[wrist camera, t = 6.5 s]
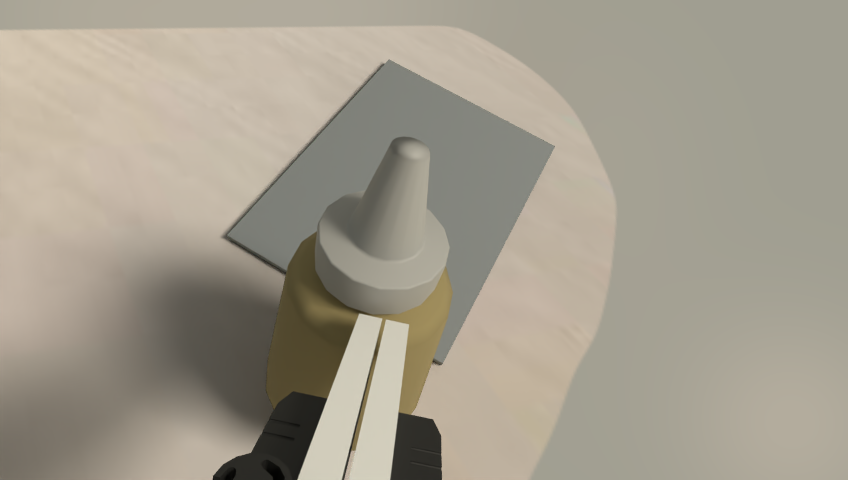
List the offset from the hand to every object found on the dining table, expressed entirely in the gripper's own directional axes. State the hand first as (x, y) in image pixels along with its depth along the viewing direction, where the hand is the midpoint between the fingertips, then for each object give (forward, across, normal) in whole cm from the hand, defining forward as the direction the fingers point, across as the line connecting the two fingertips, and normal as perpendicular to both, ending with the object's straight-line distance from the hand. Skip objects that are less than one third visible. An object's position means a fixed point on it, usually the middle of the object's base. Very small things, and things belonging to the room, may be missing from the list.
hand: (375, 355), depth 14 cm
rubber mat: (+21, 0, +2) cm, 21 cm away
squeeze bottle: (+9, -2, -9) cm, 13 cm away
